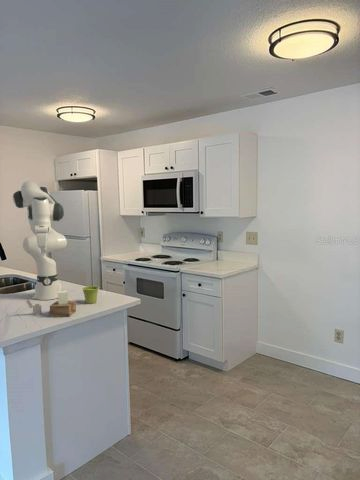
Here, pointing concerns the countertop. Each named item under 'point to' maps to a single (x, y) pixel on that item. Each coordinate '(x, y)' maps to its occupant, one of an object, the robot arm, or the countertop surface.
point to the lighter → (35, 308)
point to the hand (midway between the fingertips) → (43, 254)
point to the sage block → (62, 297)
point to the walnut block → (62, 309)
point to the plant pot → (90, 294)
